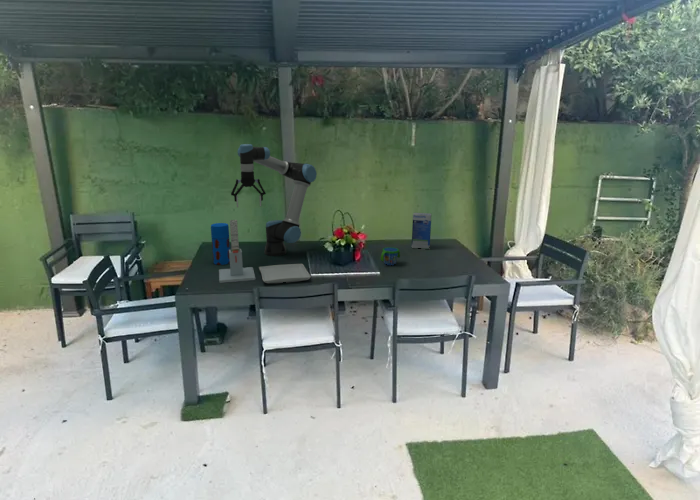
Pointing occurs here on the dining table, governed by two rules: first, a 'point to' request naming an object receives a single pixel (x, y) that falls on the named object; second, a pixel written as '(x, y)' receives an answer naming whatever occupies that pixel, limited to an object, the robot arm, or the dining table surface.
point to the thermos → (220, 243)
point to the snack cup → (390, 255)
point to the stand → (236, 269)
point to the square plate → (284, 273)
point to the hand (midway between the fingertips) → (249, 206)
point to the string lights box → (421, 230)
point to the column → (234, 235)
